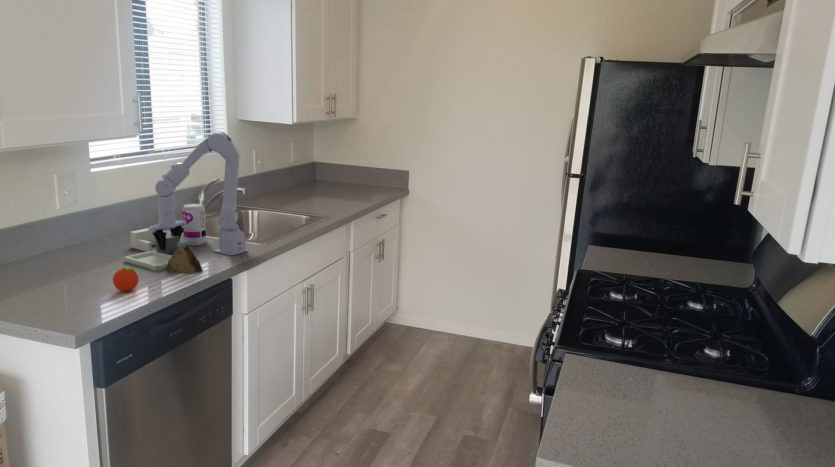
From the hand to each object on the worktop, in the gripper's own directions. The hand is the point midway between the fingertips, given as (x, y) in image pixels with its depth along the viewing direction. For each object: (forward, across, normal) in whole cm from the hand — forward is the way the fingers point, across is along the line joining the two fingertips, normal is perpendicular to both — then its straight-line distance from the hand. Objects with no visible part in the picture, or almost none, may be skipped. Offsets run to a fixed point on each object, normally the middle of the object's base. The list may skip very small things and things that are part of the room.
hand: (169, 248), depth 221 cm
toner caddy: (+1, 0, +2) cm, 3 cm away
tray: (+1, +12, +8) cm, 14 cm away
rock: (+2, +12, +23) cm, 26 cm away
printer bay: (+1, 0, -10) cm, 10 cm away
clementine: (+2, +34, +26) cm, 43 cm away
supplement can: (+2, -14, -3) cm, 14 cm away
